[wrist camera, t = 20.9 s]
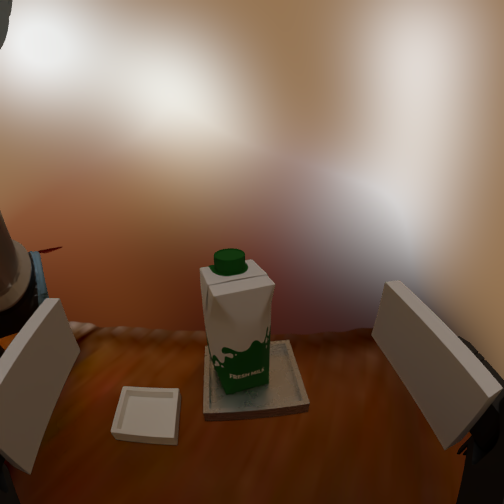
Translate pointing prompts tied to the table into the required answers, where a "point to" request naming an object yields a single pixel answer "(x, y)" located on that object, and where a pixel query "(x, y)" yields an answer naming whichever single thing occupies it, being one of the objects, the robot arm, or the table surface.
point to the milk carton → (237, 319)
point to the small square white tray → (148, 415)
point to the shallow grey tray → (258, 390)
